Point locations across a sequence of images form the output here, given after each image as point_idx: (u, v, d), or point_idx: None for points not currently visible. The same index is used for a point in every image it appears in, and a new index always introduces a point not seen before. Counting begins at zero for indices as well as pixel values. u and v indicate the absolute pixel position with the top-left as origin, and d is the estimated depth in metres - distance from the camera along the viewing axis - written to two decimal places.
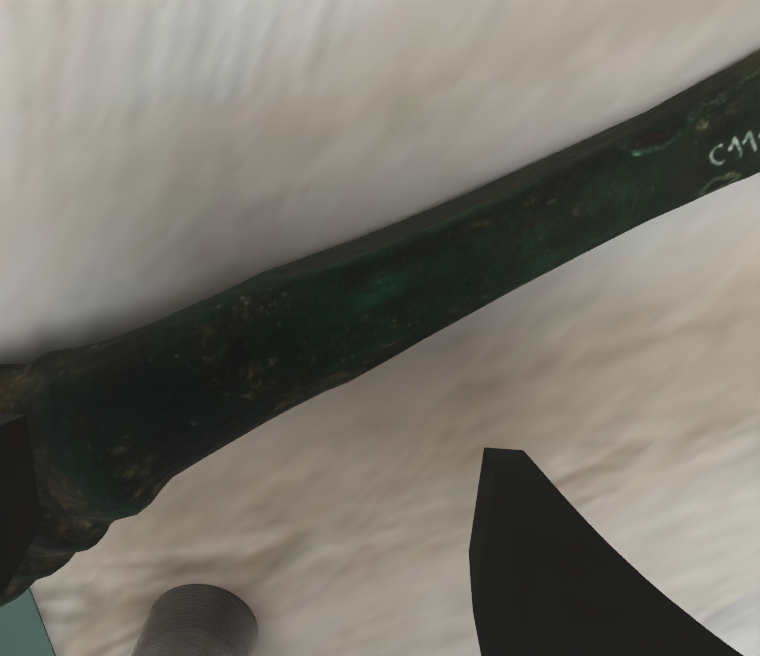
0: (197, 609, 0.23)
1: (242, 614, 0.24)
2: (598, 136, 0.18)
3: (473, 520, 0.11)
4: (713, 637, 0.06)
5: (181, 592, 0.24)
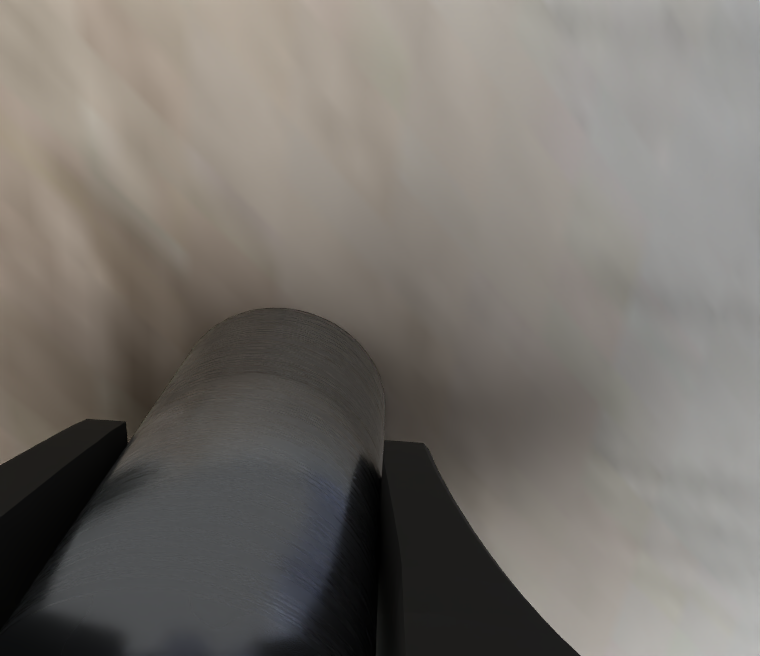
0: None
1: (225, 327, 0.12)
2: None
3: None
4: (543, 625, 0.06)
5: None
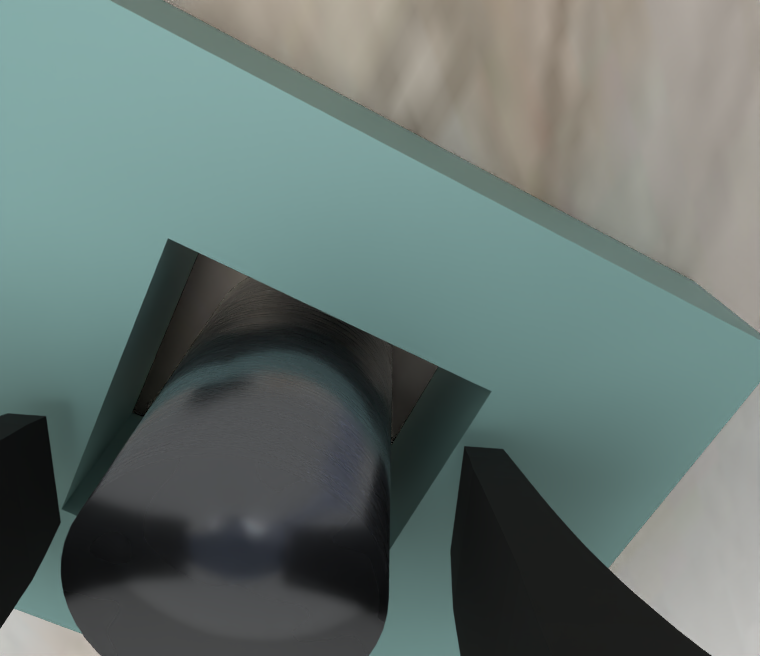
0: None
1: None
2: None
3: (454, 519, 0.11)
4: (679, 635, 0.06)
5: None
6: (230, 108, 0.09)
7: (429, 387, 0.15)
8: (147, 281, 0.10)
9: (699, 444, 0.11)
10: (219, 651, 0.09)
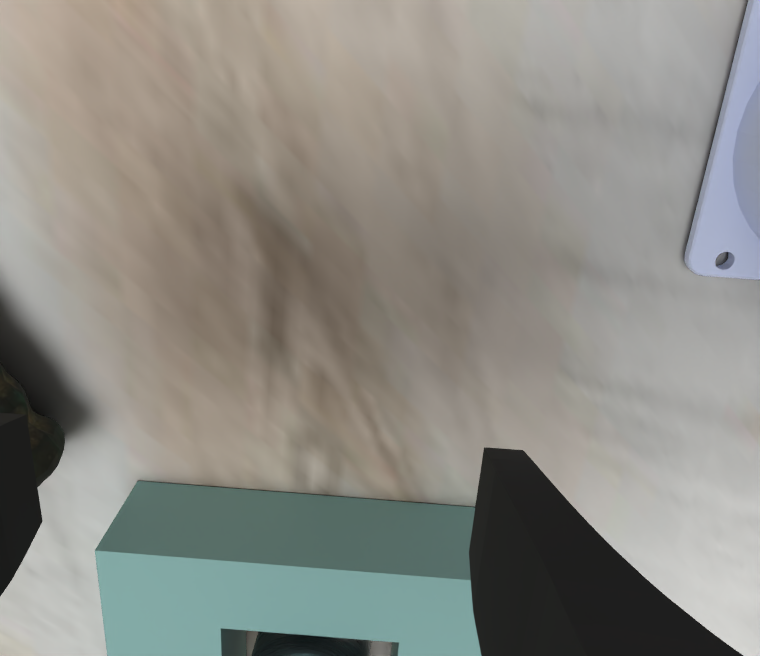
0: None
1: None
2: None
3: (473, 520, 0.11)
4: (713, 637, 0.06)
5: None
6: (223, 575, 0.20)
7: None
8: (219, 646, 0.22)
9: None
10: None
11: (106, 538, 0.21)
